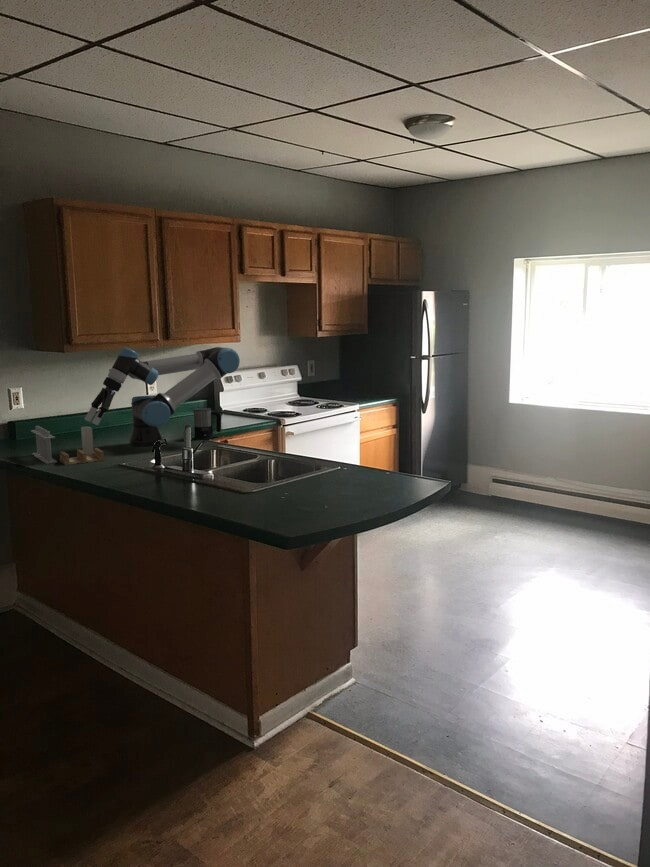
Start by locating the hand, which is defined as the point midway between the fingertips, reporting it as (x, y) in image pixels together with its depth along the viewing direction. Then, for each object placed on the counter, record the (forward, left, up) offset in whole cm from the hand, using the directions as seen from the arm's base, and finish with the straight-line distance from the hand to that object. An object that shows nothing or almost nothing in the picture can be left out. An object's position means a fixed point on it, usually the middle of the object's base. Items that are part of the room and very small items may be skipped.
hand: (90, 422), depth 316 cm
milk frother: (-60, -17, -15) cm, 64 cm away
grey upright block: (+1, -2, -14) cm, 15 cm away
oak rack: (+7, +12, -14) cm, 20 cm away
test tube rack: (+20, -2, -15) cm, 25 cm away
